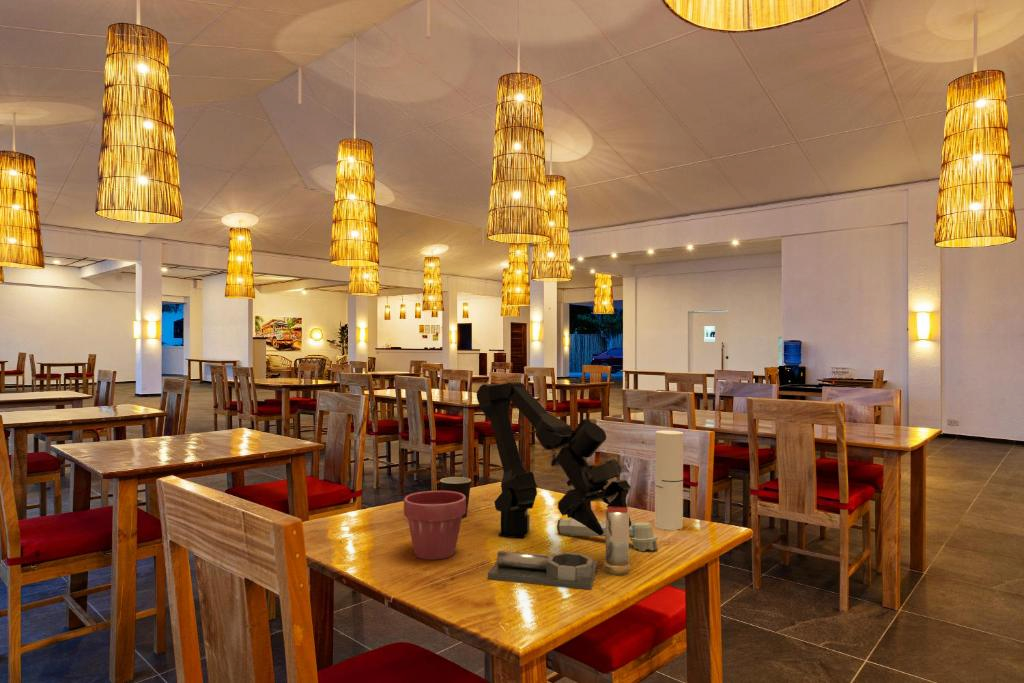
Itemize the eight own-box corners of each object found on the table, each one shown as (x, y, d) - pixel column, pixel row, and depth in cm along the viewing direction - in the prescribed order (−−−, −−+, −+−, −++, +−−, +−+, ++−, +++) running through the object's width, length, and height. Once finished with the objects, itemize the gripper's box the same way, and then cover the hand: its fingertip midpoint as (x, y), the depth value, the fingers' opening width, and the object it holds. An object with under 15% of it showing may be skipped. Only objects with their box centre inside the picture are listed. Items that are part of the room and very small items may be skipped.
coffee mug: (469, 520, 164) (469, 483, 164) (437, 520, 164) (438, 483, 165) (472, 509, 176) (473, 475, 176) (443, 509, 176) (443, 474, 176)
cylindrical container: (678, 531, 156) (678, 434, 157) (651, 527, 160) (651, 432, 160) (686, 525, 162) (686, 431, 163) (659, 521, 166) (660, 429, 166)
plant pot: (402, 544, 143) (403, 490, 144) (461, 541, 146) (462, 488, 146) (403, 565, 129) (404, 505, 129) (469, 562, 132) (469, 503, 132)
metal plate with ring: (487, 578, 122) (487, 557, 122) (504, 557, 135) (504, 538, 135) (590, 589, 117) (591, 567, 117) (597, 566, 130) (597, 546, 130)
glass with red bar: (602, 574, 126) (603, 509, 126) (605, 565, 131) (605, 503, 131) (629, 576, 125) (629, 511, 125) (630, 567, 130) (631, 505, 130)
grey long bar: (564, 515, 157) (657, 517, 144) (566, 542, 156) (661, 545, 143) (554, 520, 152) (650, 522, 139) (557, 547, 152) (654, 551, 139)
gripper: (567, 452, 126) (608, 516, 118) (624, 443, 139) (665, 501, 130) (541, 483, 132) (578, 547, 124) (597, 473, 144) (635, 530, 136)
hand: (616, 530), depth 128 cm, fingers open, 9 cm apart
